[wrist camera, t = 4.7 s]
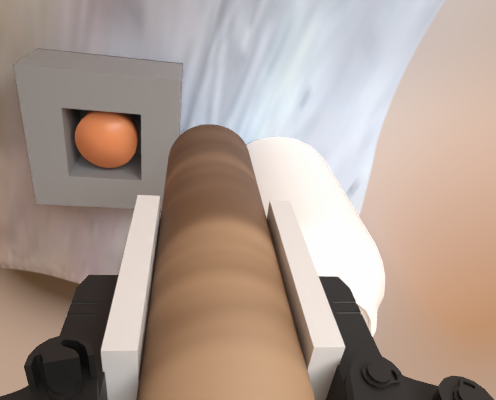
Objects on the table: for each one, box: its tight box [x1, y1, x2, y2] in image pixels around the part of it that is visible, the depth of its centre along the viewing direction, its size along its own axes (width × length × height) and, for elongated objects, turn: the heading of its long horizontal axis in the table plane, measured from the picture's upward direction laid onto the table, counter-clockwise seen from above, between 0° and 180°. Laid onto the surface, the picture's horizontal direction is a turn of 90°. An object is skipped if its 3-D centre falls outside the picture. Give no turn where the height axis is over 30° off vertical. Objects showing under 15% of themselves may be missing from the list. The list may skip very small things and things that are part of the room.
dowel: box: [137, 125, 315, 400], centre depth 13 cm, size 4×4×16 cm
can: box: [246, 136, 385, 337], centre depth 35 cm, size 12×12×20 cm
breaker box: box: [13, 49, 183, 210], centre depth 36 cm, size 12×12×6 cm
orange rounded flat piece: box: [75, 110, 139, 168], centre depth 35 cm, size 5×5×2 cm
